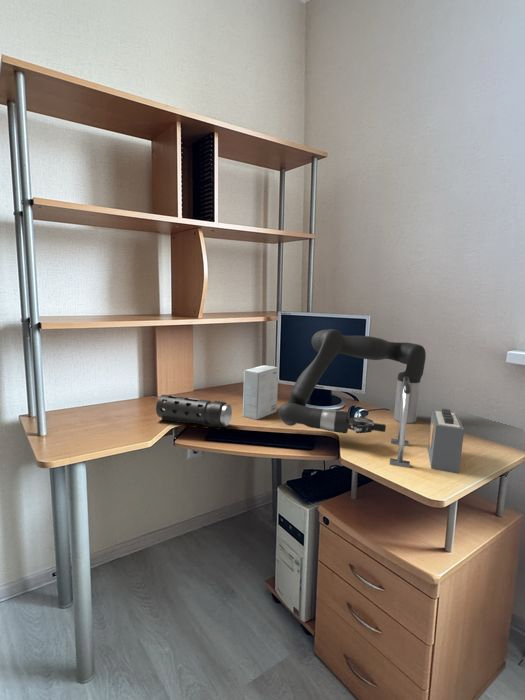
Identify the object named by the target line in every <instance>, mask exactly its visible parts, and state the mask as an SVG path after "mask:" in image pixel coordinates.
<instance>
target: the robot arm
mask: <svg viewBox="0 0 525 700" xmlns="http://www.w3.org/2000/svg"><path fill="white" fill-rule="evenodd" d="M311 346H312V348H313V349H314V350H315V352H318V353H317V355H316V356H315V358H314V359H313V360H312V361H311V362H310V364H309V365H308V366H307V367H306V368H305V369H304V370H302V372H301V374H300V375H299V376H298V378H297V380H296V381H295V383H294V385H293V386H292V389H291V390H290V398H289V401H288V402H286V403H283V404H281V405H280V407H279V408H278V410H277V412H278V413H277V414H278V417H279V419H280V420H281V421H282V422H283V423H284V424H285V425H287V426H289V427H293V426H295V425H297V424H299V425H304V426H306V427H308V428H312V429H320V430H324V431H328V432H333V433H339V434H347V433H348V432H349V430H351V431H353V432H355V434H367V433H368V434H369V433H372V432H374V431H375V432H376V431H377V432H381V433H385V432H386V430H387V429H386V428H387V425H386V424H383V423H377V422H375V421H374V420H372V419H370V418H367V417H364V416H359V417H357V416H355V417H350V413H349V411H343V410H337V409H335V410H334V409H329V408H328V409H325V408H324V409H323V408H315V407H309V406H307V403H308V401H309V399H310V397H311V395H312V394H313V391H314V390H315V387H316V386H317V384H318V382H319V381H320V379H321V377H322V376H323V374H324V373H325V372H326V370H327V369H328V367H329V365H330V364H331V363H332V362H333V360H334V359H335V358H336V357H337V355H338V354H341V355H346V356H349V357H354V358H358V359H363V360H370V361H382V360H390V361H394V362H398V363H401V364H403V365H406V366H405V370H404V371H401V372H399V373H398V374H397V380H396V381H397V382H396V391H395V401H394V410H393V411H394V413H393V419H394V421H396V422H400V412H401V402H402V392H403V378H404V377H405V376H408V377H409V382H410V394H409V403H408V413H407V423H406V424H412V423H417V417H418V416H417V414H418V408H419V407H418V406H419V395H420V390H421V389H420V388H421V379H422V377H423V375H424V372H425V371H424V370H425V365H426V364H425V363H426V356H427V353H426V349H425V347H424V346H423V345H421V344H417V343H411V342H394V341H388V340H385V339H383V338H380V337H374V336H369V335H368V336H367V335H343V334H342V333H341V332H340V331H339V330H337V329H331V328H330V329H321V330H319V331H317V332H315V333H314V334H313V336H312V337H311Z"/></svg>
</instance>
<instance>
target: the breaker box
mask: <svg viewBox="0 0 525 700" xmlns="http://www.w3.org/2000/svg"><path fill="white" fill-rule="evenodd" d="M432 422H433V424H434V432H433V440H432V448H431V447H430V433H431V424H432ZM428 434H429V435H428V442H427V443H428V445H427V451H428V453H427V454H428V457H429V463H430V465H429V466H430V469H432V470H438V471H443V472H444V471H445V472H450V473H456V474H459V473H460V468H461V467H460V465H461V459H462V458H461V457H462V451H463V443H464V436H465V435H464V434H465V428H464V426H463V423H462V421H461V420H460V418H459V416H458V413H456V412H451V409H448V408H442V409H441V411H440V410H439V411H438V410H432V411H431V417H430V426H429V433H428Z"/></svg>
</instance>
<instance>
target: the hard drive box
mask: <svg viewBox="0 0 525 700" xmlns="http://www.w3.org/2000/svg"><path fill="white" fill-rule="evenodd" d="M278 386H279V367H278V366H277V367H276V366H272V365H265V364H264V365H260V366H256V367H252V368H248V369H244V370H243V396H242V397H243V398H242V399H243V400H242V417H244V418H248V419H253V420H257V421H258V420H260V419H262V418H265V417H267V416H270V415H273V414H274V413H277V412H278V391H279V390H278Z"/></svg>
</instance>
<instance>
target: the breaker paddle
mask: <svg viewBox="0 0 525 700" xmlns="http://www.w3.org/2000/svg"><path fill="white" fill-rule="evenodd" d="M430 425H431V433H430V432H429V434H430V447H431V448H432V440H433V432H434V424H433V422H432V424H431V423H430Z"/></svg>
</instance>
